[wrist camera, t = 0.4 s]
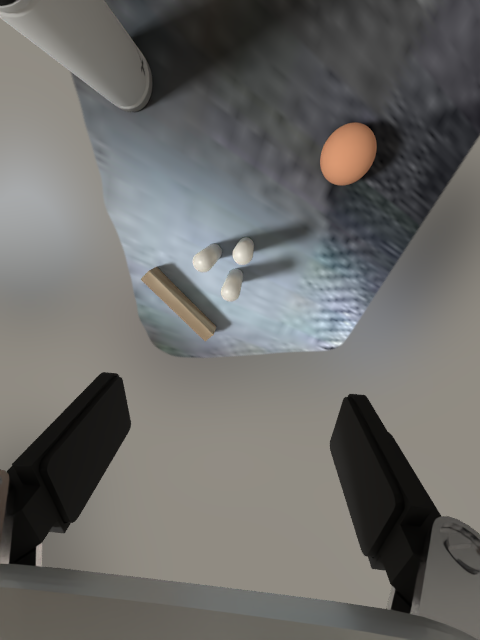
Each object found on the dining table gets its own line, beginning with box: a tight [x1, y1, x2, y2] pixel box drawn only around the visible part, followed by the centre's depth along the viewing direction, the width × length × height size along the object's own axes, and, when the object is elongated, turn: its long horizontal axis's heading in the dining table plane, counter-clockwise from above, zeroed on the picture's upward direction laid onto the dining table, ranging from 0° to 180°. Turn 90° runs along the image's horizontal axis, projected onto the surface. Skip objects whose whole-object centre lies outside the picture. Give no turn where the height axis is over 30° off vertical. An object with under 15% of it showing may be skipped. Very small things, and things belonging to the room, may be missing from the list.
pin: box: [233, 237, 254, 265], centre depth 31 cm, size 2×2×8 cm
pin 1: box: [193, 244, 222, 272], centre depth 32 cm, size 2×2×8 cm
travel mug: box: [0, 0, 153, 112], centre depth 19 cm, size 6×7×20 cm
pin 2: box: [221, 269, 243, 301], centre depth 34 cm, size 2×2×8 cm
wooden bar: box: [141, 267, 216, 341], centre depth 38 cm, size 2×14×3 cm, turn 42°
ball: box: [320, 123, 377, 185], centre depth 28 cm, size 6×6×6 cm
